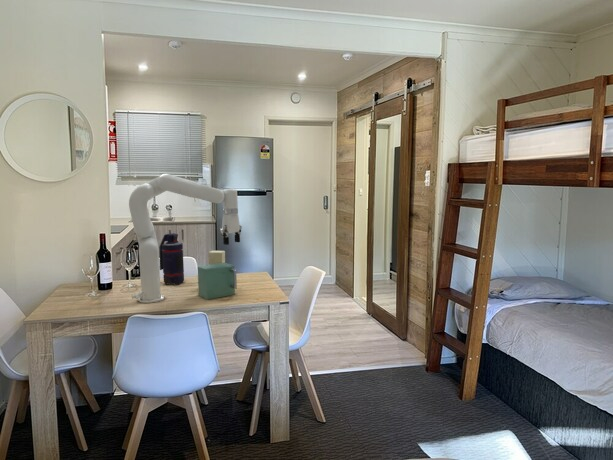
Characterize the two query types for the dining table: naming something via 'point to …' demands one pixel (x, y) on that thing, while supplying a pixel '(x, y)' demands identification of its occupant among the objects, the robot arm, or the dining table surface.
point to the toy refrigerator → (216, 257)
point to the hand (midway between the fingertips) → (231, 243)
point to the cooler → (203, 276)
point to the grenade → (171, 259)
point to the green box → (220, 282)
